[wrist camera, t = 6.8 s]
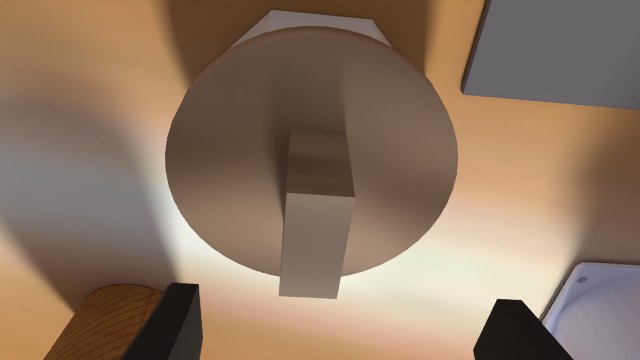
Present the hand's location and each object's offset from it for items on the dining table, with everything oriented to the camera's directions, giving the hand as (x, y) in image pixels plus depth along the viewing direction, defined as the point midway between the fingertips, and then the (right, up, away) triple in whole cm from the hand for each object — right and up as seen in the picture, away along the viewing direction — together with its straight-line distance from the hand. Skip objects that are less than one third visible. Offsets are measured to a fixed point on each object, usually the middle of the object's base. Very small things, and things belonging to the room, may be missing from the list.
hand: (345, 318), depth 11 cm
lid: (-1, +4, +6) cm, 7 cm away
